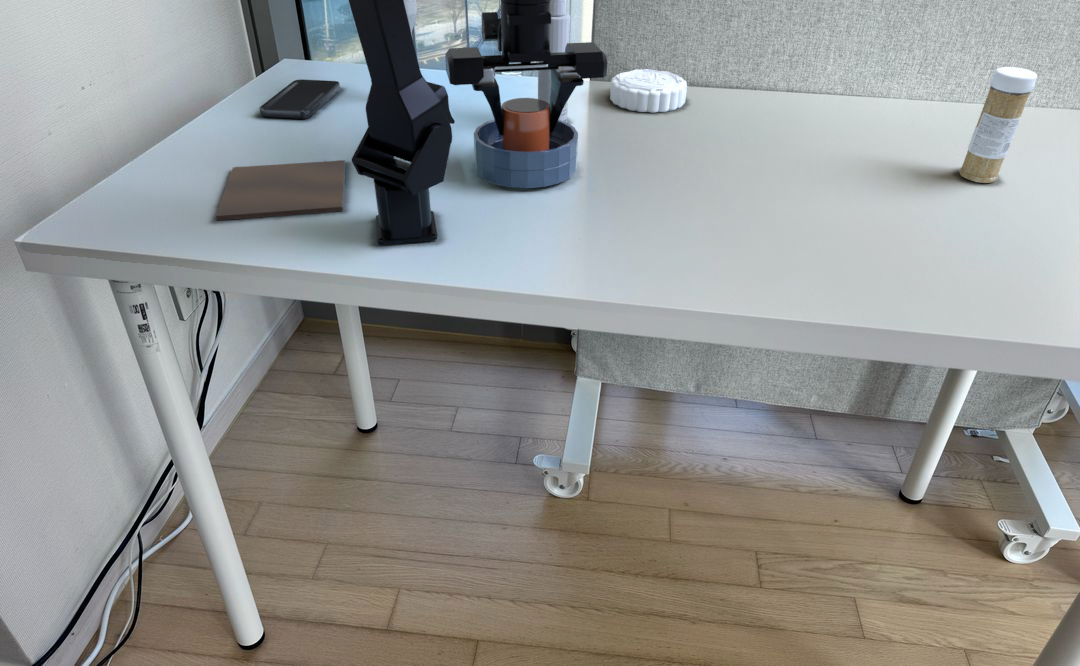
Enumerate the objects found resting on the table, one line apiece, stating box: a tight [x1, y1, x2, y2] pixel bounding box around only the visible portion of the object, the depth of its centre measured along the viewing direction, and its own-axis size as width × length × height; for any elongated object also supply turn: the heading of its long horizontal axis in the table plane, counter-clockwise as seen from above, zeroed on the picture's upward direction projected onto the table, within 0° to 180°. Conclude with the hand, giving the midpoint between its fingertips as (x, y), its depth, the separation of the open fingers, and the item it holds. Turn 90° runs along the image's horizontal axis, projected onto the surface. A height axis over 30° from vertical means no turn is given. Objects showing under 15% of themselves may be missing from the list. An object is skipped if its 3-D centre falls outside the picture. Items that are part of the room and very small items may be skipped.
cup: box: [501, 97, 550, 152], centre depth 94 cm, size 6×6×8 cm
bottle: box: [537, 0, 571, 123], centre depth 106 cm, size 4×4×20 cm
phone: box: [259, 78, 341, 120], centre depth 118 cm, size 8×1×15 cm
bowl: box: [473, 118, 579, 189], centre depth 96 cm, size 13×13×5 cm
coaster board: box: [215, 159, 346, 221], centre depth 91 cm, size 14×14×1 cm
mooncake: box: [609, 68, 688, 114], centre depth 119 cm, size 12×12×4 cm
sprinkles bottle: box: [958, 66, 1038, 184], centre depth 93 cm, size 5×5×14 cm
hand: (526, 132), depth 94 cm, fingers closed on cup, 6 cm apart
